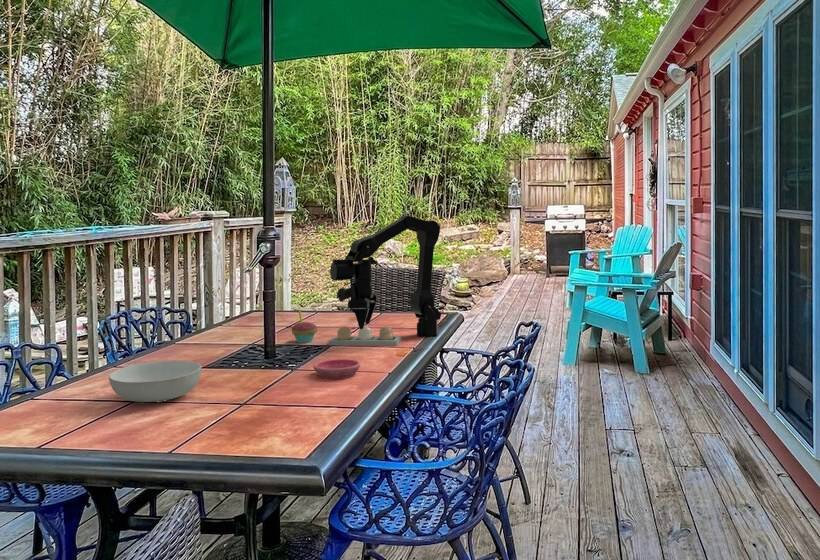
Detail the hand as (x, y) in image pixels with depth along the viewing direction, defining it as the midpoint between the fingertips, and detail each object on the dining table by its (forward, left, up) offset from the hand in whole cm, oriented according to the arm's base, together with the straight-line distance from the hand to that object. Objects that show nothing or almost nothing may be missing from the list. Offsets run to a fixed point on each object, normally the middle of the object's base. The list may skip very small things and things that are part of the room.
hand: (364, 326), depth 222 cm
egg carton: (0, 0, -6) cm, 6 cm away
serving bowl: (+37, +65, -6) cm, 75 cm away
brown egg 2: (-7, 0, -5) cm, 9 cm away
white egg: (0, 0, -5) cm, 5 cm away
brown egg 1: (+7, 0, -5) cm, 9 cm away
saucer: (-1, +40, -6) cm, 40 cm away
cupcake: (+21, -2, -6) cm, 22 cm away
